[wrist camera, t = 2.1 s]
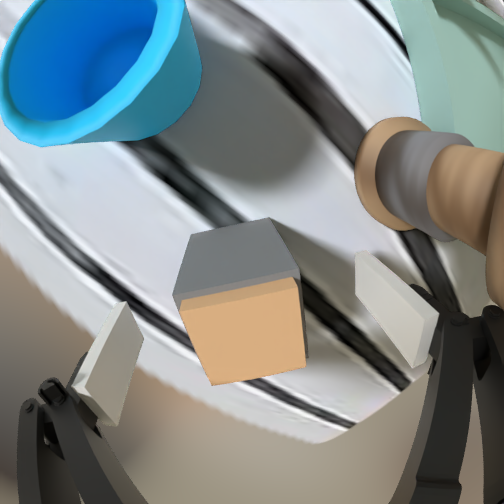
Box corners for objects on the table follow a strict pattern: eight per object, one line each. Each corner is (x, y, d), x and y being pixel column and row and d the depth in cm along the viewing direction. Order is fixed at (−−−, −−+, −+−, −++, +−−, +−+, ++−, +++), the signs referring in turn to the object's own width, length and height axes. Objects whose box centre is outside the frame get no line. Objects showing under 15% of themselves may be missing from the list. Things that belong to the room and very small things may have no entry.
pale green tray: (383, -17, 10) (406, -33, 7) (506, 38, 10) (526, 37, 7) (426, 219, 18) (454, 235, 15) (526, 196, 18) (546, 204, 15)
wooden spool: (346, 118, 15) (512, 115, 4) (434, 118, 15) (569, 136, 4) (358, 235, 18) (479, 343, 7) (438, 217, 18) (551, 284, 7)
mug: (222, 105, 14) (221, 68, 6) (103, 164, 14) (21, 189, 7) (162, -27, 9) (136, -96, 2) (59, 30, 10) (-8, -2, 2)
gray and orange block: (190, 234, 17) (169, 306, 9) (269, 217, 17) (305, 277, 10) (210, 300, 19) (207, 390, 11) (280, 285, 19) (312, 369, 12)
